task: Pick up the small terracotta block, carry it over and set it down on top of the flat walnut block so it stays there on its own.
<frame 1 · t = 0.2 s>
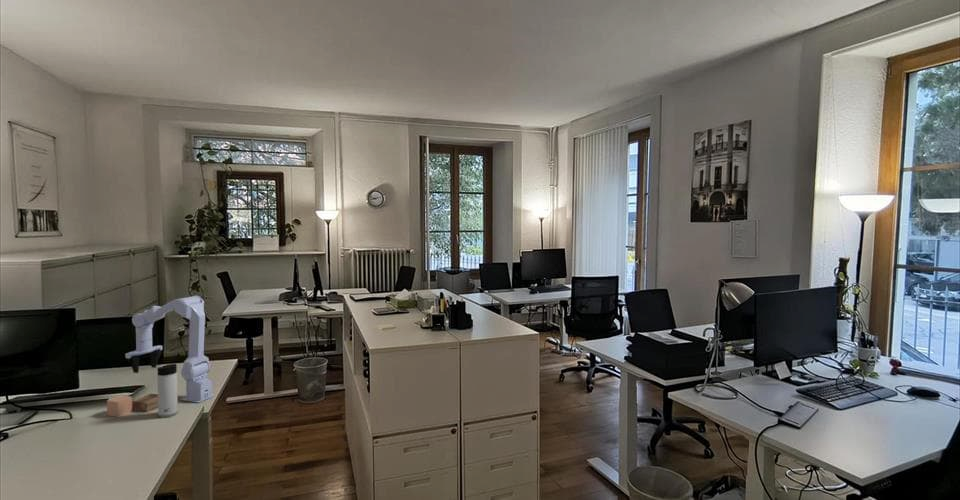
hand: (145, 369, 199), 10 cm above the table, tool pointing down, fingers open, 7 cm apart
travel mug: (168, 415, 177), on the table
terracotta block: (119, 413, 177), on the table
walnut block: (149, 407, 184), on the table
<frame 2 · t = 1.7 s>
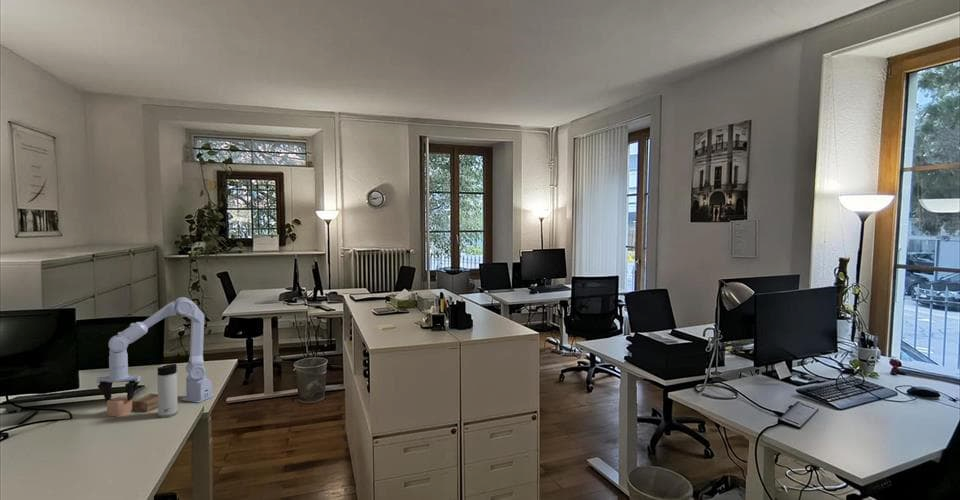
hand: (119, 400, 177), 5 cm above the table, tool pointing down, fingers open, 7 cm apart
terracotta block: (119, 413, 177), on the table, touching gripper
everything else where it was.
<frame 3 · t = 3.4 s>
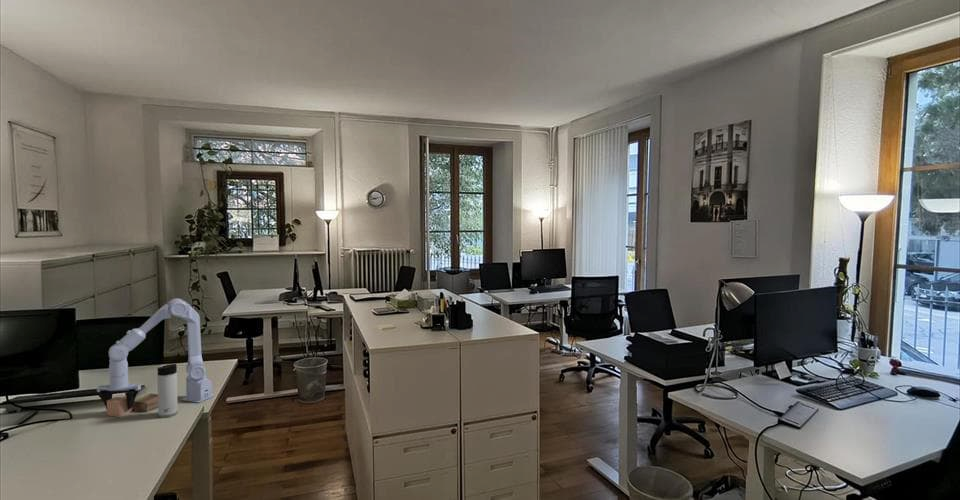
hand: (119, 408, 177), 2 cm above the table, tool pointing down, fingers closed on terracotta block, 7 cm apart
terracotta block: (119, 413, 177), on the table, touching gripper
everything else where it was.
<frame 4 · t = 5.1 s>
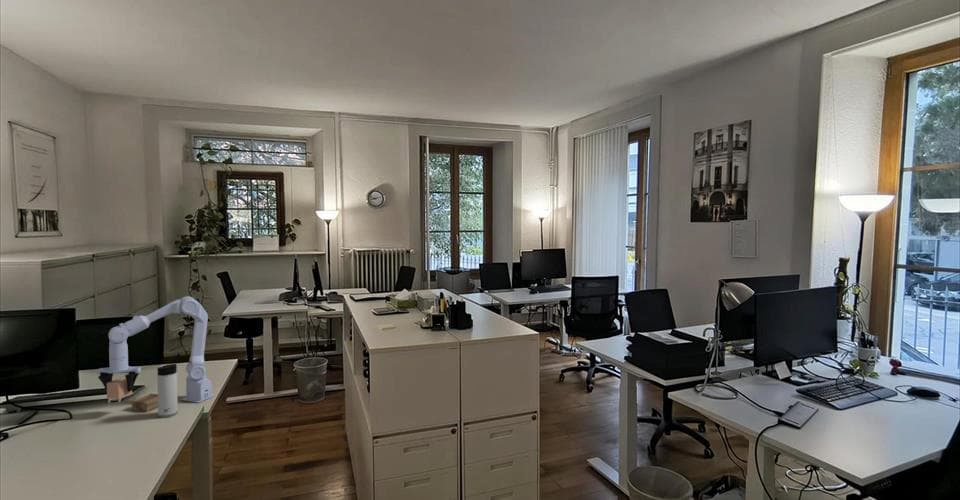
hand: (119, 391, 177), 9 cm above the table, tool pointing down, fingers closed on terracotta block, 7 cm apart
terracotta block: (119, 395, 177), point 7 cm above the table, touching gripper
everything else where it was.
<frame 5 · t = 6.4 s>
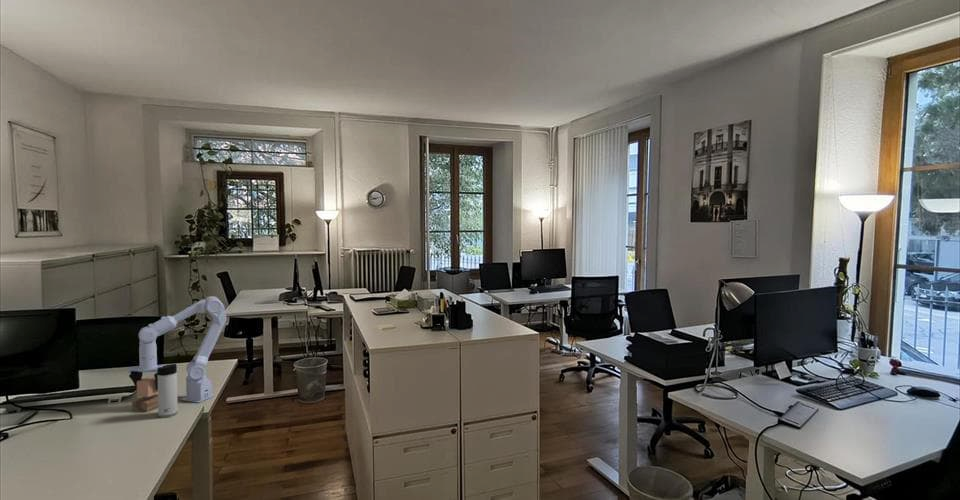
hand: (148, 389, 183), 7 cm above the table, tool pointing down, fingers closed on terracotta block, 7 cm apart
terracotta block: (149, 393, 183), point 5 cm above the table, touching gripper
everything else where it was.
when the fingers open (7 cm above the table, at t = 7.6 s): terracotta block drops 2 cm, point 4 cm above the table.
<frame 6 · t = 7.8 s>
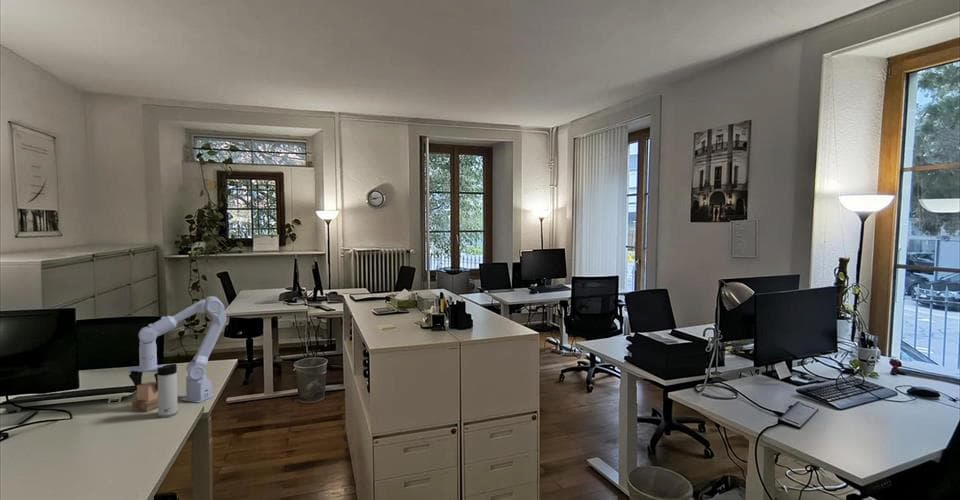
hand: (148, 389, 183), 7 cm above the table, tool pointing down, fingers open, 7 cm apart
terracotta block: (149, 398, 183), point 4 cm above the table
everything else where it was.
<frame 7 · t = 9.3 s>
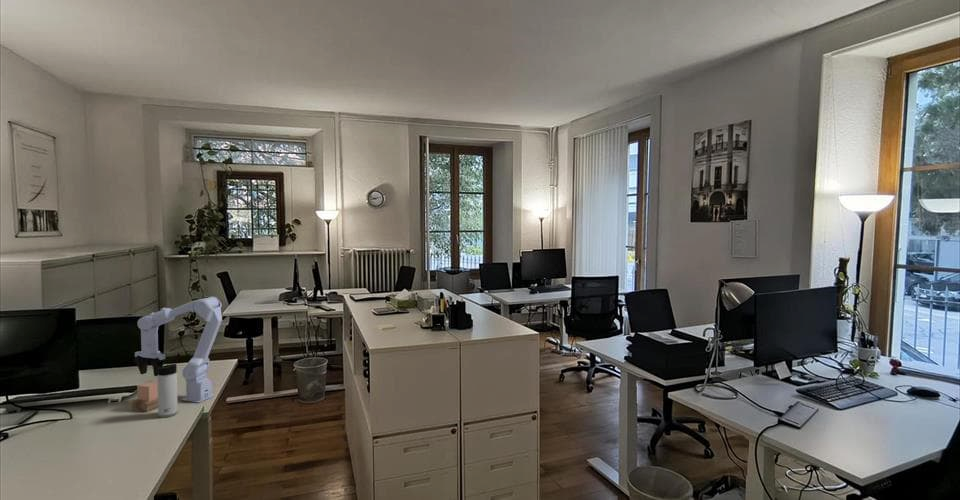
hand: (150, 374, 192), 10 cm above the table, tool pointing down, fingers open, 7 cm apart
terracotta block: (149, 398, 184), point 4 cm above the table, touching walnut block
walnut block: (149, 407, 184), on the table, touching terracotta block
everything else where it was.
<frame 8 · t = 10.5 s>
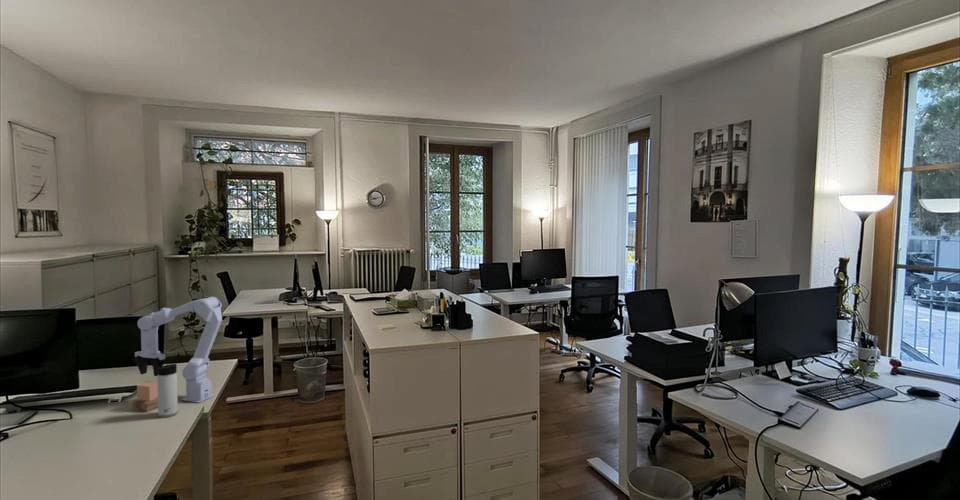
hand: (150, 374, 192), 10 cm above the table, tool pointing down, fingers open, 7 cm apart
terracotta block: (149, 398, 183), point 4 cm above the table
walnut block: (149, 407, 184), on the table
everything else where it was.
at the end: terracotta block 0.1 cm off-centre on the walnut block, point 4.0 cm above the walnut block's base; terracotta block touching nothing; terracotta block tilted 0° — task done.
